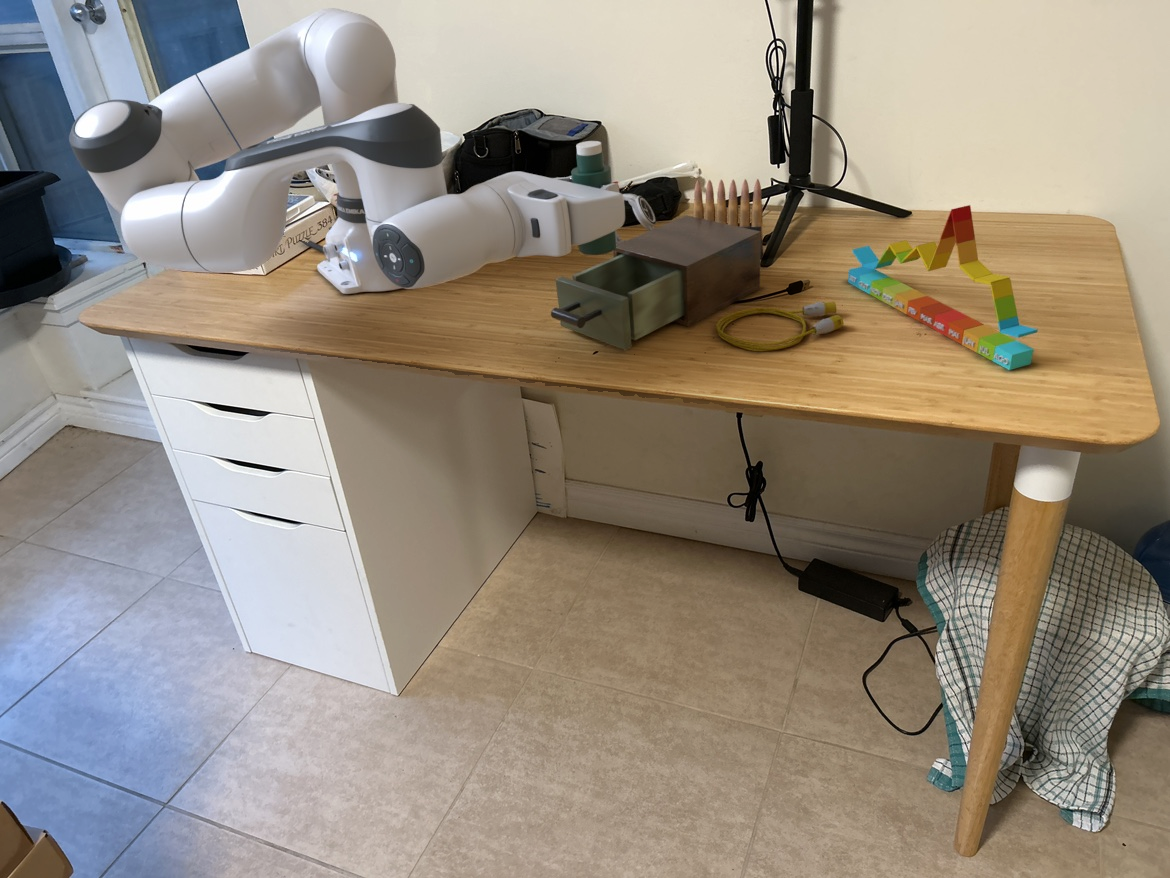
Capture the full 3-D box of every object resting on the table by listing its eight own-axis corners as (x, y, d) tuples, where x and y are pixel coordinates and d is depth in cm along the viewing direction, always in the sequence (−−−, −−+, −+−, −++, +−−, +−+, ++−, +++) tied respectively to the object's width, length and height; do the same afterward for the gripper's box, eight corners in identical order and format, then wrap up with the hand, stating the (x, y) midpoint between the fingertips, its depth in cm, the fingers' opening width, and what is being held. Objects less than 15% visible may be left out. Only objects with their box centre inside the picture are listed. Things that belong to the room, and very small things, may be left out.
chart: (846, 282, 119) (854, 175, 111) (865, 278, 120) (875, 171, 112) (1007, 371, 95) (1032, 241, 87) (1030, 364, 96) (1057, 235, 88)
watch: (655, 272, 129) (651, 200, 123) (603, 272, 131) (597, 202, 125) (660, 258, 134) (657, 189, 128) (610, 259, 136) (605, 190, 130)
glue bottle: (571, 250, 109) (560, 146, 102) (598, 239, 111) (589, 137, 104) (596, 257, 105) (587, 151, 99) (624, 246, 108) (617, 141, 101)
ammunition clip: (692, 258, 133) (690, 181, 126) (694, 254, 134) (692, 178, 128) (761, 259, 130) (763, 180, 123) (763, 255, 131) (764, 177, 125)
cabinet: (688, 326, 112) (686, 266, 108) (616, 303, 121) (612, 246, 116) (759, 288, 120) (761, 231, 116) (688, 269, 129) (686, 215, 125)
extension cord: (841, 356, 101) (842, 340, 100) (709, 350, 106) (709, 335, 105) (844, 313, 111) (845, 299, 110) (724, 309, 116) (724, 295, 114)
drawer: (600, 363, 104) (596, 312, 100) (536, 337, 112) (530, 289, 108) (700, 311, 114) (699, 264, 110) (635, 291, 122) (632, 246, 118)
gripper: (462, 226, 106) (546, 197, 113) (571, 260, 92) (658, 224, 100) (454, 175, 102) (541, 149, 110) (565, 203, 89) (656, 170, 96)
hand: (598, 185), depth 105 cm, fingers closed on glue bottle, 5 cm apart
